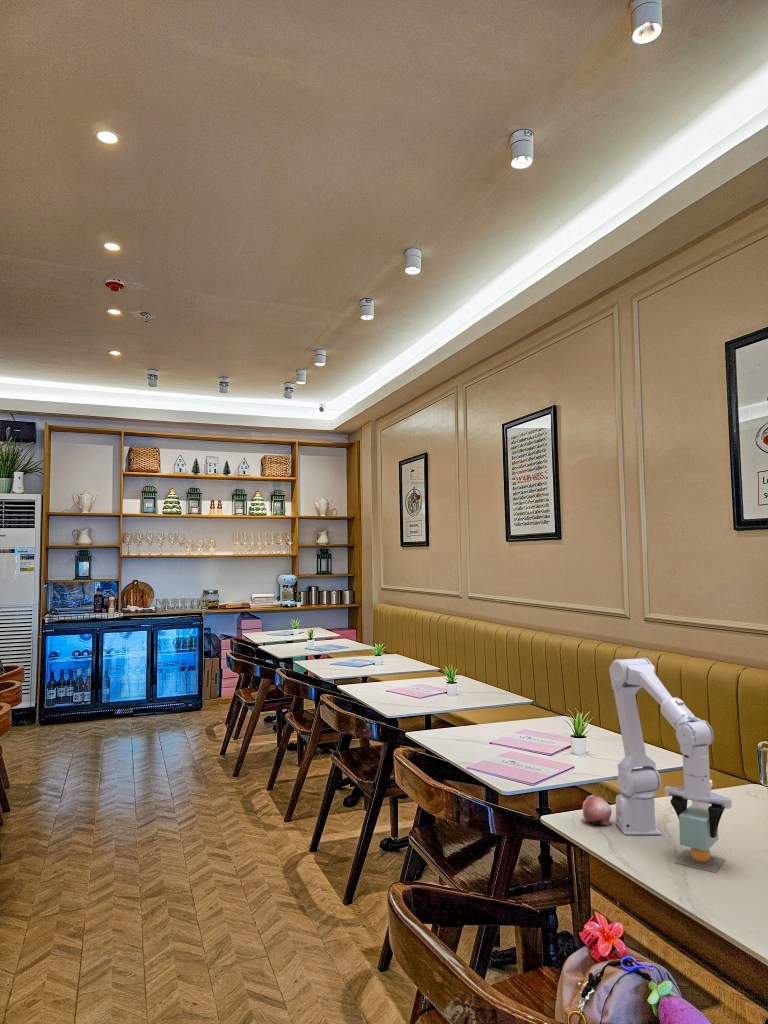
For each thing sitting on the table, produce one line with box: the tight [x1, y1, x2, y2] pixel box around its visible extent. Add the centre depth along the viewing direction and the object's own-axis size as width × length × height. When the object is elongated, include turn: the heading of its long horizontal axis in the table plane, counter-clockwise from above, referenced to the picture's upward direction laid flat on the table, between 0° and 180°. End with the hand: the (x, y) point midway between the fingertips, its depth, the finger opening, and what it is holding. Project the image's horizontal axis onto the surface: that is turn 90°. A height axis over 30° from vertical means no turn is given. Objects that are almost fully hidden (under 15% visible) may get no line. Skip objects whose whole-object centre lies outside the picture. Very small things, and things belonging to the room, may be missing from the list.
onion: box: [582, 794, 612, 826], centre depth 189 cm, size 8×8×7 cm
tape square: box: [674, 849, 726, 873], centre depth 163 cm, size 9×9×1 cm
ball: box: [689, 847, 711, 863], centre depth 163 cm, size 4×4×4 cm
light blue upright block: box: [678, 804, 719, 851], centre depth 164 cm, size 9×6×7 cm
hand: (698, 833), depth 164 cm, fingers closed on light blue upright block, 6 cm apart
